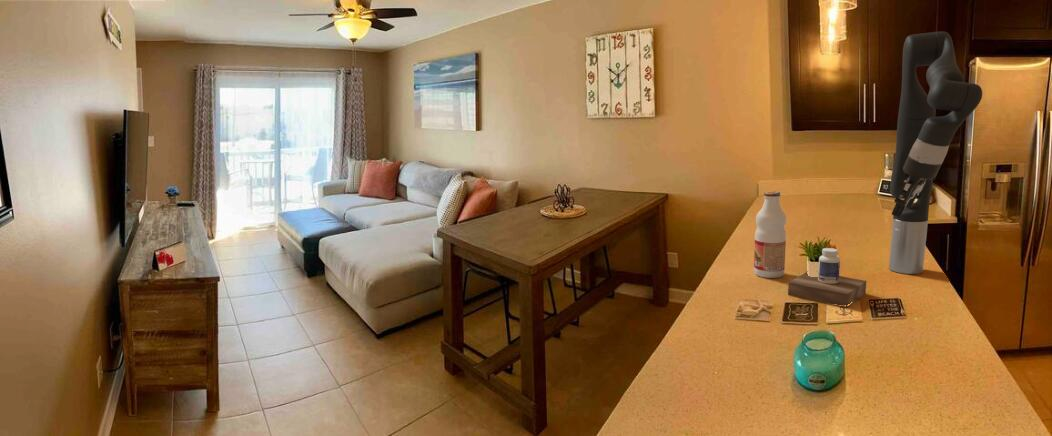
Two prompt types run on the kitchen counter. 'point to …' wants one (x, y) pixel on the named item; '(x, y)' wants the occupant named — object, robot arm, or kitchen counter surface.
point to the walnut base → (827, 289)
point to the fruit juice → (770, 238)
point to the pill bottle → (829, 266)
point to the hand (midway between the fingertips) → (901, 211)
